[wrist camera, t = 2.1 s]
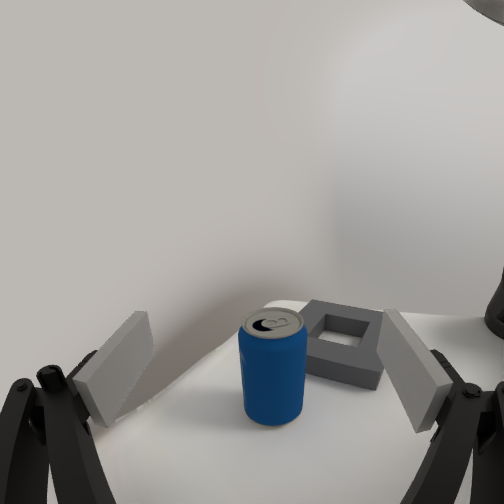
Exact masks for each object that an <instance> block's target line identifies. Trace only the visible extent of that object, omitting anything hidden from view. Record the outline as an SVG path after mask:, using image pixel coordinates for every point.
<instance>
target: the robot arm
mask: <svg viewBox="0 0 504 504" xmlns="http://www.w3.org/2000/svg"><path fill="white" fill-rule="evenodd" d="M464 1H465V2H466V3H467V4H468V5H470V6H471V7H472V8H473V9H474V10H476V11H477V12H479V13H481V14H482V15H484V16H486V17H487V18H489V19H491V20H492V21H494V22H496V23H499V24H500V25H502V26H504V0H464ZM485 323H486V324H487V326H488V327H489V328H490V329H491V330H492V331H493V332H494V333H495V334H497V335H498V336H500V337H502V338H503V339H504V268H503V274H502V279H501V282H500V284H499V286H498V288H497V290H496V292H495V294H494V296H493V297H492V299H491V301H490V303H489V304H488V307H487V310H486V313H485ZM155 352H156V351H155V346H154V342H153V338H152V333H151V329H150V324H149V319H148V314H147V312H144V311H135V312H134V313H133V314H132V315H131V316H130V317H129V318H128V319H127V320H126V321H125V322H124V323H123V325H122V326H121V327H120V328H119V329H118V330H117V331H116V332H115V333H114V334H113V335H112V336H111V337H110V338H109V339H108V340H107V341H106V342H105V344H104V345H103V346H102V347H101V348H100V349H99V350H94V351H93V352H91V353H89V354H88V355H87V356H86V357H85V358H84V359H83V360H82V362H80V363H79V364H78V366H76V367H75V368H74V369H73V371H72V372H71V373H70V374H69V375H68V376H67V377H66V378H65V377H64V375H63V372H62V370H61V368H60V367H59V366H57V365H48V366H45V367H43V368H42V369H40V370H39V371H38V372H37V375H36V377H37V379H38V381H39V383H40V385H41V387H42V388H37V387H34V385H33V383H32V381H31V380H30V379H27V378H22V379H19V380H17V381H15V382H14V383H13V385H12V386H11V388H10V391H9V393H8V395H7V398H6V401H5V403H4V406H3V408H2V411H1V413H0V504H47V487H48V486H47V485H48V473H49V462H50V468H51V474H52V479H53V483H54V488H55V493H56V496H57V501H58V504H116V502H115V499H114V497H113V495H112V492H111V490H110V487H109V485H108V482H107V480H106V477H105V474H104V472H103V469H102V466H101V463H100V460H99V457H98V454H97V451H96V448H95V444H94V441H93V438H92V434H91V430H90V427H89V424H88V422H87V421H86V420H87V419H88V417H89V416H91V418H92V420H93V422H94V423H95V424H97V425H100V426H103V427H106V428H108V427H109V426H110V424H111V422H112V421H113V419H114V417H115V416H116V414H117V413H118V411H119V409H120V408H121V406H122V404H123V403H124V401H125V399H126V398H127V396H128V395H129V393H130V391H131V390H132V388H133V387H134V385H135V384H136V382H137V380H138V379H139V377H140V376H141V374H142V373H143V371H144V369H145V368H146V366H147V365H148V363H149V361H150V360H151V358H152V357H153V355H154V354H155ZM376 352H377V354H378V356H379V358H380V360H381V362H382V364H383V366H384V368H385V370H386V371H387V373H388V375H389V377H390V379H391V382H392V384H393V386H394V388H395V390H396V392H397V394H398V396H399V398H400V400H401V402H402V404H403V406H404V409H405V411H406V413H407V415H408V417H409V419H410V422H411V424H412V426H413V428H414V430H415V433H419V432H423V431H426V430H430V429H431V428H432V426H433V424H434V422H435V420H436V422H437V424H438V428H437V430H436V432H435V433H434V435H433V437H432V439H431V440H430V442H431V444H430V447H429V449H428V451H427V453H426V456H425V458H424V460H423V462H422V464H421V466H420V468H419V470H418V472H417V474H416V476H415V478H414V480H413V482H412V484H411V486H410V487H409V489H408V491H407V493H406V495H405V496H404V498H403V500H402V501H401V503H400V504H454V502H455V499H456V497H457V494H458V492H459V489H460V486H461V484H462V481H463V478H464V475H465V472H466V469H467V466H468V462H469V459H470V456H471V452H472V448H473V473H472V487H471V497H470V504H504V381H502V382H500V383H499V384H498V385H497V387H496V389H495V391H484V392H483V391H482V390H481V388H480V387H479V386H477V385H475V384H473V383H465V382H464V381H463V379H462V378H461V377H460V375H459V374H458V373H457V372H456V370H455V369H454V368H453V367H452V365H451V364H450V363H449V362H448V360H447V359H446V358H445V356H444V355H443V354H442V353H440V352H438V351H437V350H435V349H434V350H429V349H428V348H427V347H426V345H425V344H424V343H423V342H422V340H421V339H420V338H419V336H418V335H417V334H416V333H415V331H414V330H413V329H412V328H411V327H410V325H409V324H408V323H407V322H406V320H405V319H404V318H403V317H402V316H401V314H400V313H399V312H398V311H397V310H396V309H389V310H384V312H383V318H382V324H381V329H380V335H379V340H378V345H377V350H376ZM29 421H30V422H29Z"/></svg>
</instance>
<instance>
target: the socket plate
mask: <svg viewBox="0 0 504 504" xmlns="http://www.w3.org/2000/svg"><path fill="white" fill-rule="evenodd" d="M299 314H300V315H301V316H302V318H303V321H304V322H303V324H304V325H305V327H306V329H307V332H308V337H307V355H306V370H305V372H306V373H309V374H313V375H316V376H320V377H323V378H327V379H331V380H335V381H339V382H342V383H346V384H351V385H355V386H359V387H363V388H368V389H372V390H376V389H377V386H378V384H379V381H380V378H381V375H382V372H383V370H384V366H383V364H382V362H381V360H380V358H379V356H378V354H377V352H376V350H377V345H378V340H379V335H380V329H381V324H382V318H383V312H380V311H374V310H368V309H362V308H356V307H351V306H345V305H339V304H334V303H328V302H323V301H318V300H311V301H310V302H309V303H308V304H307V305H306V306H305V307H304V308H303V309H302V310H301V311H300V312H299ZM324 329H325V330H330V331H335V332H339V333H344V334H349V335H354V336H359V337H363V338H362V340H361V342H360V344H359V346H358V348H357V347H353V346H348V345H343V344H339V343H334V342H330V341H326V340H321V339H317V338H318V337H319V336H320V334H321V333H322V332H323V331H324Z"/></svg>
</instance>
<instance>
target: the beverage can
mask: <svg viewBox="0 0 504 504" xmlns="http://www.w3.org/2000/svg"><path fill="white" fill-rule="evenodd" d="M303 322H304V321H303V318H302V316H301V315H300V314H299V313H297V312H295V311H293V310H290V309H286V308H278V307H271V308H262V309H258V310H255V311H252V312H250V313H249V314H247V315H246V316H245V317H244V318H243V320H242V326H241V327H240V329H239V333H238V341H239V352H240V364H241V375H242V386H243V396H244V407H245V411H246V414H247V415H248V416H249V417H250V418H251V419H252V420H253V421H255V422H257V423H259V424H262V425H267V426H279V425H283V424H287V423H289V422H291V421H293V420H294V419H296V418H297V417H298V416H299V414H300V413H301V411H302V406H303V395H304V383H305V370H306V355H307V337H308V332H307V329H306V327H305V325H304V324H303Z"/></svg>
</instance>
